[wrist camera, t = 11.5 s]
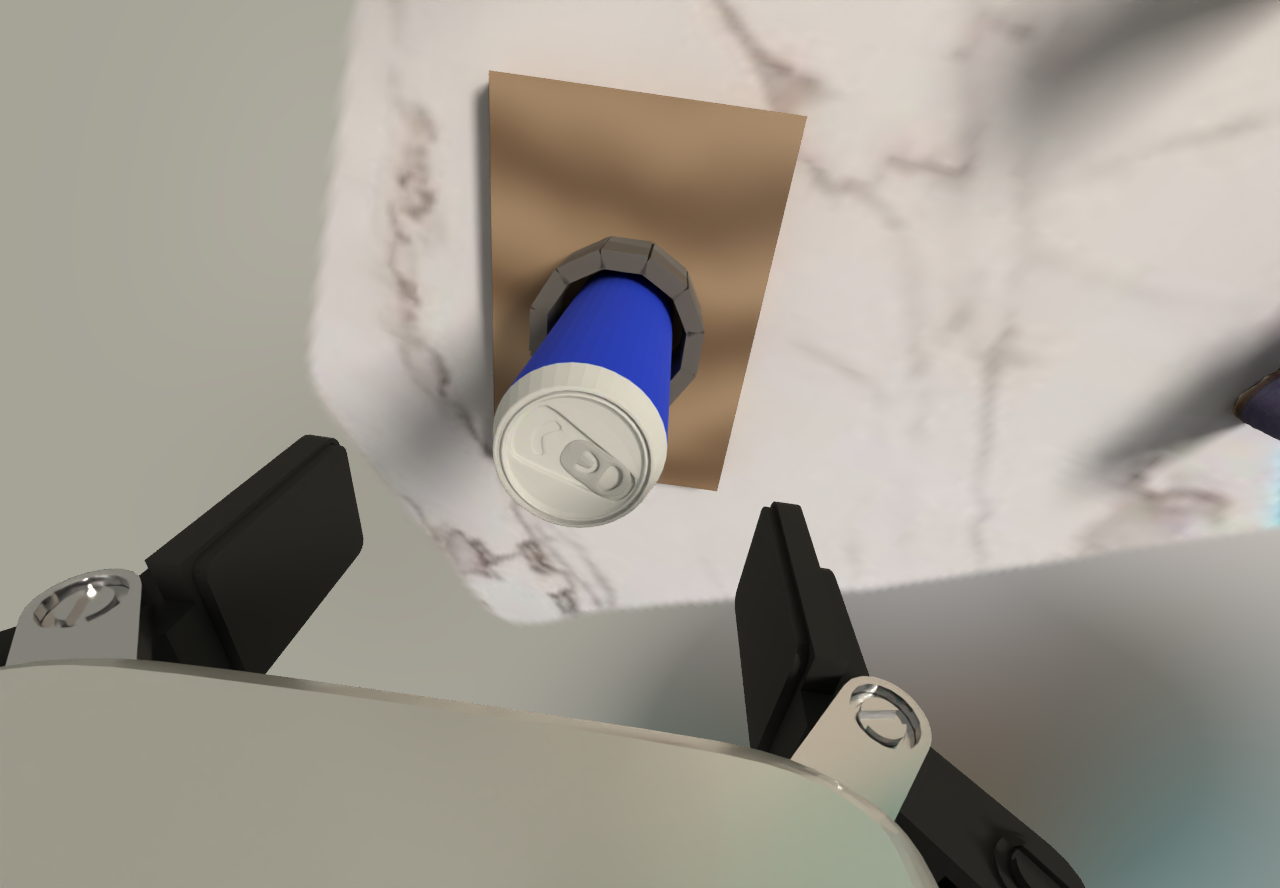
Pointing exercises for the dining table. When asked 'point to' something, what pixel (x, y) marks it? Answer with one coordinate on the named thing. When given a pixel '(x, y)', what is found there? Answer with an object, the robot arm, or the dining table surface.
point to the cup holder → (639, 232)
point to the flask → (1261, 406)
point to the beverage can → (591, 406)
